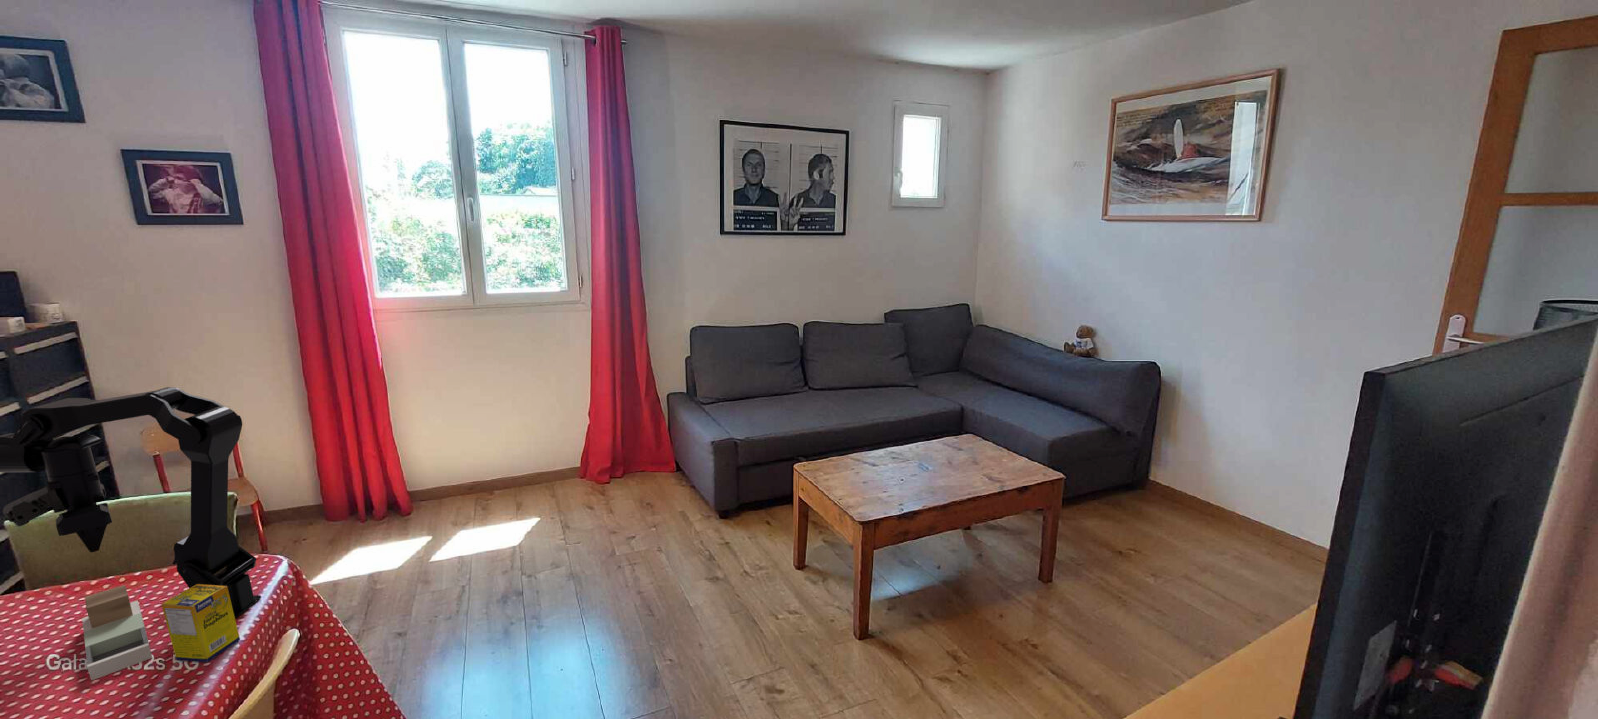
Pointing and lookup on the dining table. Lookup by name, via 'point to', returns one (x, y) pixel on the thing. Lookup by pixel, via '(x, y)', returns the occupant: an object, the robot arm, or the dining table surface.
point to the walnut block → (108, 606)
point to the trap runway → (117, 652)
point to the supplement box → (201, 622)
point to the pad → (114, 634)
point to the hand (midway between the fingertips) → (94, 549)
